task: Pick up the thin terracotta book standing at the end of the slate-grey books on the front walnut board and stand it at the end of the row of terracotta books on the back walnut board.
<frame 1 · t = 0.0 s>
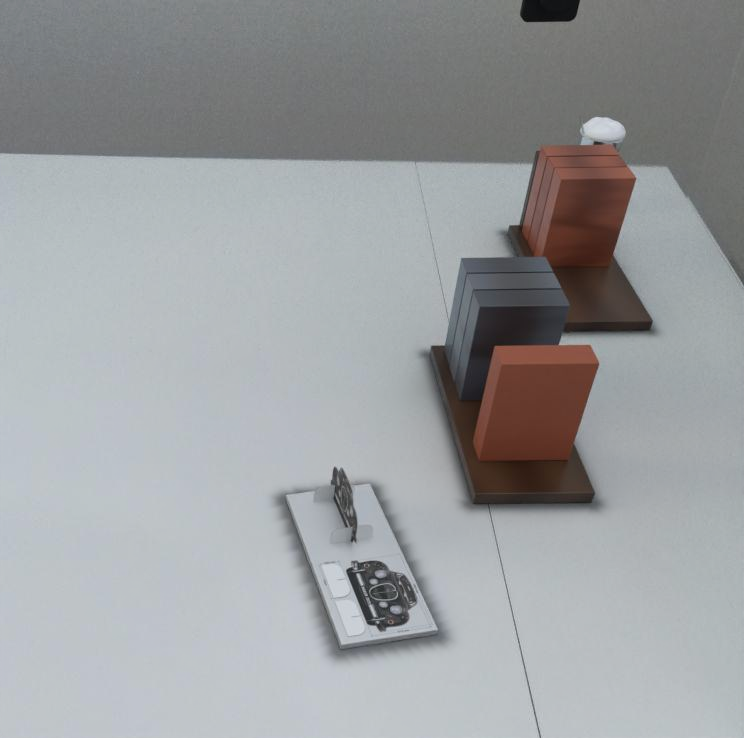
milkshake: (579, 206, 109), on the table
car cutout: (355, 563, 70), on the table
terracotta shelf: (573, 278, 97), on the table
terracotta book: (520, 450, 77), point 1 cm above the table, touching grey books on stand
grey books on stand: (503, 422, 81), on the table
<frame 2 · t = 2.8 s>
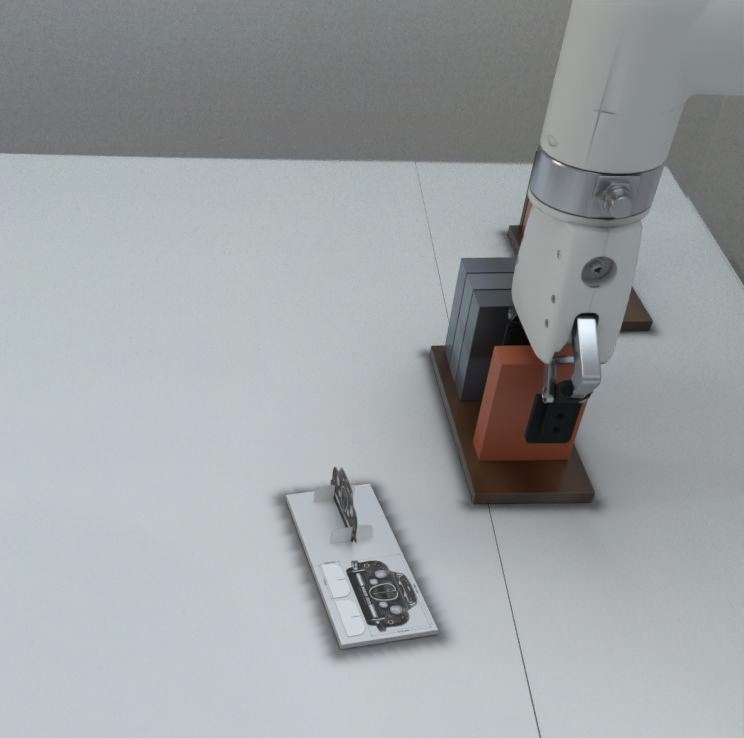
hand: (531, 402, 73), 6 cm above the table, tool pointing down, fingers open, 8 cm apart
nothing on the table moved.
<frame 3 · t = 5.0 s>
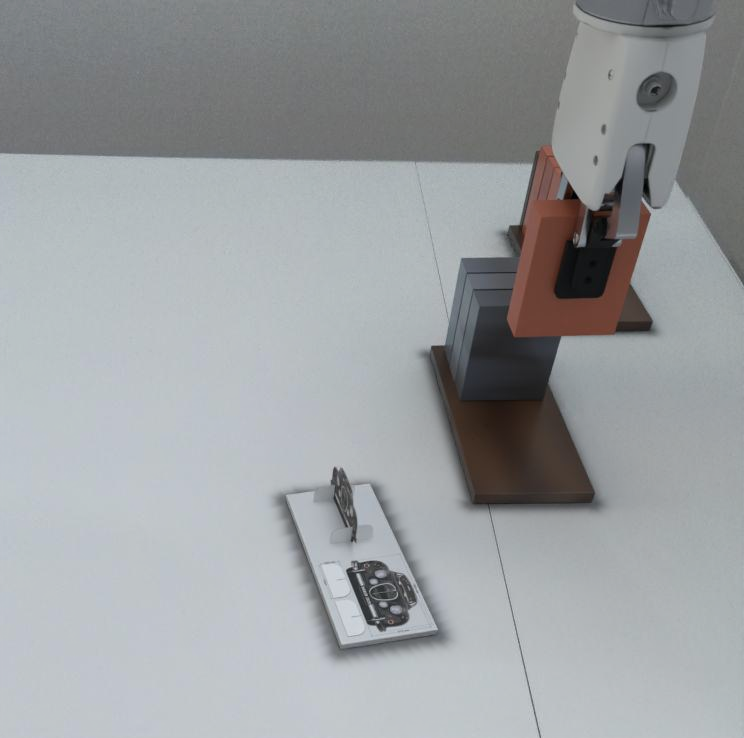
hand: (571, 281, 67), 16 cm above the table, tool pointing down, fingers closed on terracotta book, 2 cm apart
terracotta book: (559, 327, 69), point 12 cm above the table, touching gripper
everything else where it was.
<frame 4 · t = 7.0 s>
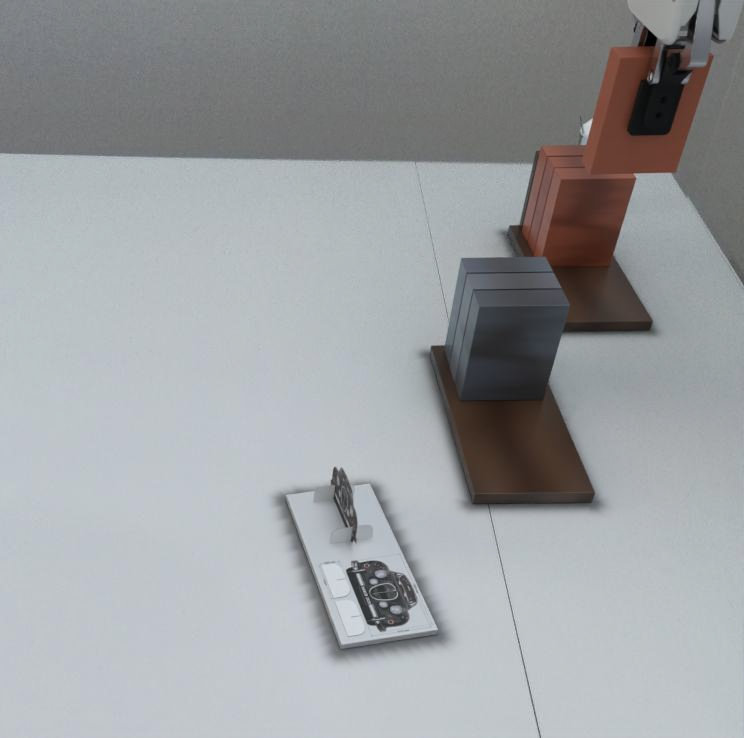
hand: (641, 123, 78), 19 cm above the table, tool pointing down, fingers closed on terracotta book, 2 cm apart
terracotta book: (628, 167, 80), point 15 cm above the table, touching gripper
everything else where it was.
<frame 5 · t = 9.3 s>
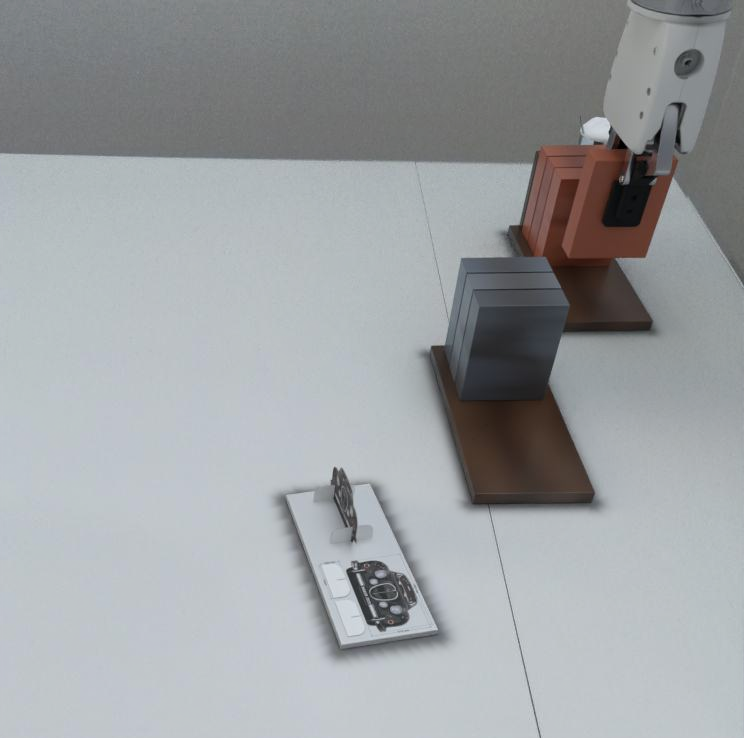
hand: (614, 215, 87), 9 cm above the table, tool pointing down, fingers closed on terracotta book, 2 cm apart
terracotta book: (603, 251, 89), point 6 cm above the table, touching gripper
everything else where it was.
when the fingers open (5 cm above the table, at t = 10.7 s): terracotta book stays where it is, resting on terracotta shelf.
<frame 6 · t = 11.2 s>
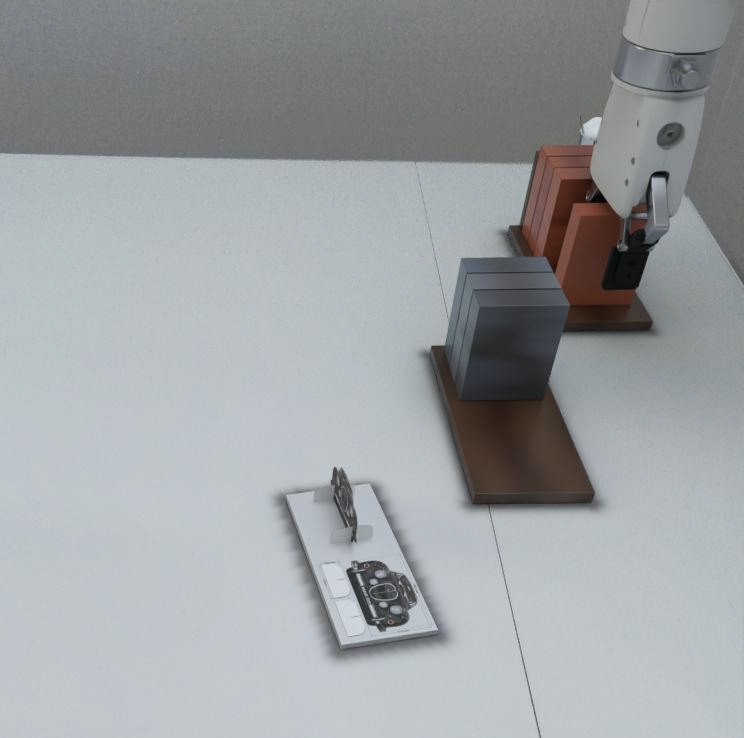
hand: (605, 264, 90), 5 cm above the table, tool pointing down, fingers open, 7 cm apart
terracotta book: (590, 298, 93), point 1 cm above the table, touching terracotta shelf
everything else where it was.
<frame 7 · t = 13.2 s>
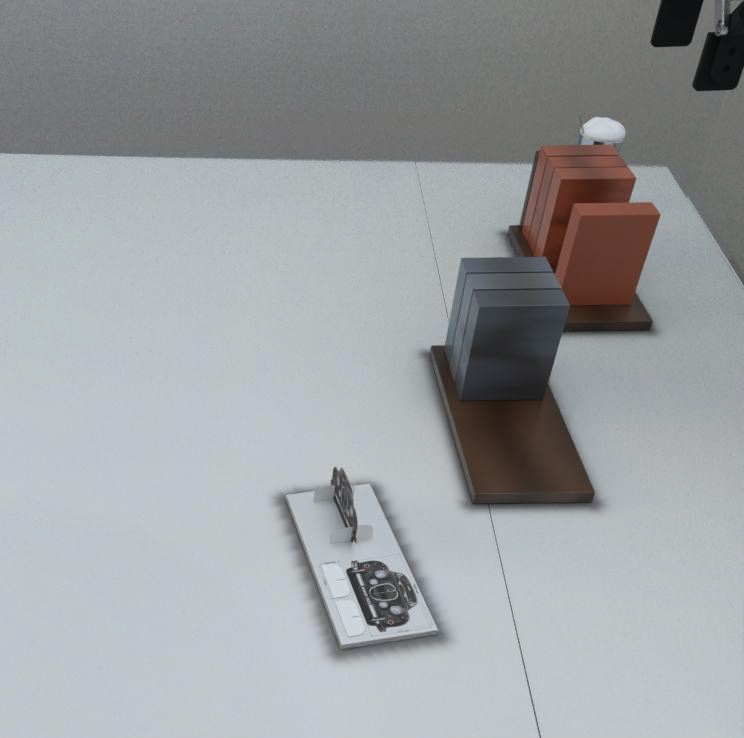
hand: (690, 66, 77), 22 cm above the table, tool pointing down, fingers open, 9 cm apart
nothing on the table moved.
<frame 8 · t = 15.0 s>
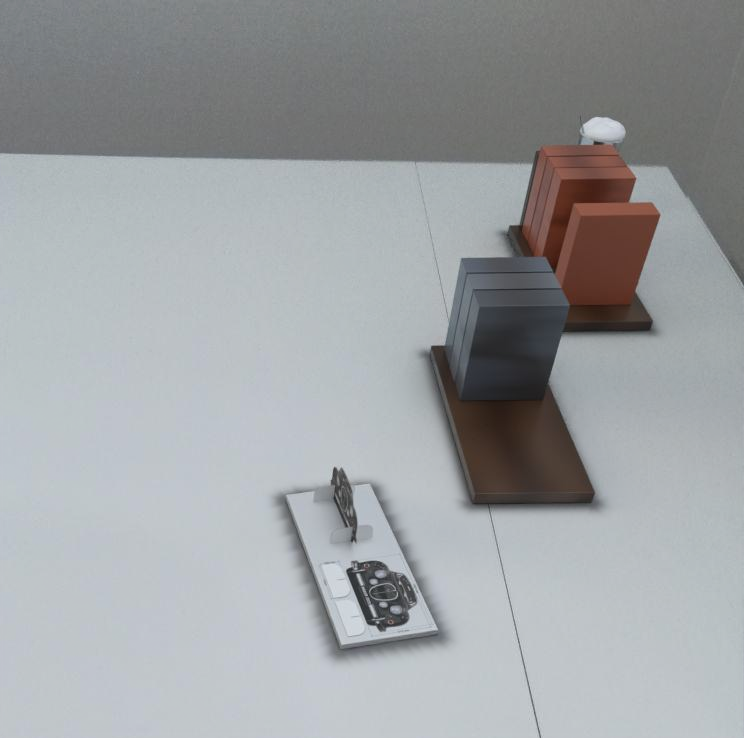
nothing on the table moved.
at the end: terracotta book 0.2 cm from the target spot on the terracotta shelf, point 1.0 cm above the terracotta shelf's base; terracotta book tilted 0° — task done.
